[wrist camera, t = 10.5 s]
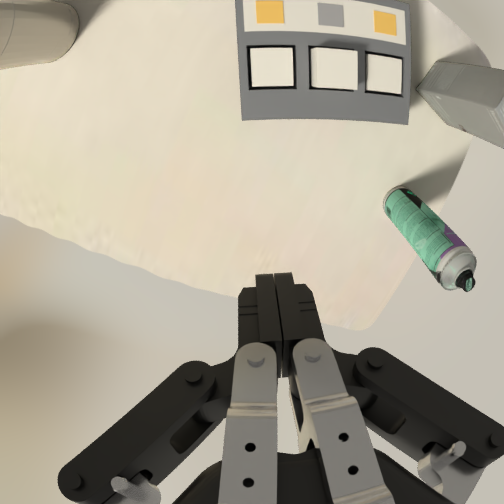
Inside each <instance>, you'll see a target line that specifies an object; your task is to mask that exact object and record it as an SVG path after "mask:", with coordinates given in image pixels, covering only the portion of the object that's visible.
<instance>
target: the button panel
mask: <svg viewBox="0 0 504 504" xmlns="http://www.w3.org/2000/svg"><path fill="white" fill-rule="evenodd" d="M235 8H236V26H237V44H238V61H239V79H240V96H241V113H242V121H244V120H266V119H334V120H356V121H371V122H383V123H394V124H403V125H408V119H409V106H410V86H411V26H410V8H409V4H407V3H403V2H400V1H396V0H235ZM316 47H317V48H331V49H342V50H352V51H357V55H358V83H357V90H352V89H338V88H318V87H313V86H311V64H310V49H313V48H316ZM250 48H292V52H293V85H294V86H257V87H252V86H251V68H250ZM365 54H371V55H378V56H384V57H390V58H396V59H401V60H402V81H401V94H396V93H389V92H381V91H373V90H366V89H365Z"/></svg>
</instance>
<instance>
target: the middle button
mask: <svg viewBox="0 0 504 504" xmlns="http://www.w3.org/2000/svg"><path fill="white" fill-rule="evenodd" d="M310 64H311V86H313V87H318V88H338V89H352V90H357V83H358V55H357V51H352V50H342V49H331V48H317V47H316V48H313V49H310Z"/></svg>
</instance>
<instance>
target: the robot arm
mask: <svg viewBox="0 0 504 504" xmlns="http://www.w3.org/2000/svg"><path fill="white" fill-rule="evenodd" d="M78 28H79V19H78V15H77V12H76V10H75V9H74V8H73V7H72V6H70V5H68V4H65V3H60V2H56V1H52V0H0V70H1V69H7V68H13V67H19V66H26V65H35V64H43V63H50V62H53V61H56V60H57V59H59V58H61V57H62V56H63V55H64V54H65V53H66V52H67V51H68V50H69V49H70V47H71V46H72V44H73V42H74V41H75V38H76V36H77V33H78ZM255 277H256V287H248V288H243V289H242V291H241V293H240V294H239V296H238V349H237V351H236V353H235V355H234V356H233V357H232V358H230V359H229V360H228V361H226V362H223V363H220V364H217V365H214V366H210V365H208V364H207V363H205V362H202V361H190V362H187V363H184V364H183V365H181V366H180V367H179V368H177V369H176V370H175V371H174V372H173V373H172V374H171V375H170V376H169V377H168V378H167V379H165V380H164V381H163V382H162V383H161V384H160V385H159V386H158V387H156V388H155V389H154V390H153V391H152V392H151V393H150V394H148V395H147V396H146V397H145V398H144V399H143V400H142V401H140V402H139V403H138V404H137V405H136V406H135V407H134V408H132V409H131V410H130V411H129V412H128V413H127V414H126V415H124V416H123V417H122V418H121V419H120V420H119V421H118V422H116V423H115V424H114V425H113V426H112V427H110V428H109V429H108V430H107V431H106V432H105V433H103V434H102V435H101V436H100V437H99V438H98V439H96V440H95V441H94V442H93V443H92V444H90V445H89V446H88V447H87V448H86V449H84V450H83V451H82V452H81V453H80V454H78V455H77V456H76V457H75V458H74V459H72V460H71V461H70V462H69V463H67V464H66V465H65V466H64V467H63V468H62V469H61V470H60V472H59V475H58V486H59V489H60V491H61V493H62V494H63V495H64V496H65V497H66V498H68V499H69V500H71V501H74V502H76V503H79V504H160V501H161V494H160V491H159V489H158V488H157V485H158V484H159V483H161V481H163V480H164V479H165V478H166V477H167V476H168V475H169V474H170V473H171V472H172V471H173V470H174V469H175V468H176V467H177V466H178V465H179V464H180V463H182V462H183V461H184V459H186V458H187V457H188V456H189V455H190V454H191V453H192V452H193V451H194V450H195V449H196V447H198V446H199V445H200V444H201V443H202V442H203V441H204V439H205V438H206V437H207V436H208V435H209V434H210V433H211V432H212V431H213V430H214V429H215V428H216V426H218V425H219V424H220V423H221V421H222V420H223V419H224V418H226V428H225V437H224V447H223V457H222V461H219V462H217V463H215V464H213V465H212V466H210V467H208V468H207V469H206V470H204V471H203V472H202V473H201V474H200V475H199V476H198V477H197V478H196V479H195V480H194V481H193V482H192V483H191V485H190V486H189V487H188V488H187V489H186V490H185V491H184V492H183V493H182V494H181V495H180V496H179V497H178V498H177V499H176V500H175V501H174V502H173V503H172V504H465V503H466V501H467V500H468V498H469V496H470V495H471V493H472V491H473V489H474V488H475V486H476V484H477V482H478V480H479V479H480V477H481V475H482V473H483V471H484V469H485V468H486V466H488V465H489V464H491V463H492V462H494V461H495V460H497V459H498V458H500V457H501V456H502V455H504V427H503V426H502V425H501V424H499V423H497V422H496V421H494V420H493V419H491V418H490V417H488V416H486V415H485V414H483V413H481V412H480V411H479V410H477V409H475V408H474V407H472V406H471V405H469V404H467V403H466V402H464V401H463V400H461V399H460V398H458V397H456V396H455V395H453V394H452V393H450V392H449V391H447V390H445V389H444V388H442V387H440V386H439V385H437V384H436V383H434V382H433V381H431V380H430V379H428V378H427V377H425V376H423V375H422V374H420V373H419V372H417V371H416V370H414V369H413V368H411V367H410V366H408V365H406V364H405V363H403V362H402V361H400V360H399V359H397V358H396V357H394V356H393V355H391V354H389V353H388V352H386V351H385V350H383V349H380V348H375V347H370V348H366V349H364V350H362V351H361V352H360V353H359V354H358V355H353V354H346V353H341V352H338V351H336V350H334V349H333V348H331V347H330V346H329V345H328V344H327V342H326V341H325V338H324V335H323V331H322V327H321V323H320V319H319V315H318V312H317V308H316V304H315V300H314V297H313V293H312V291H311V290H310V289H309V288H308V287H307V286H306V284H294V280H293V276H292V273H291V272H290V273H274V278H273V274H259V275H255ZM281 371H282V377H288V378H289V385H290V388H289V397H290V401H291V406H292V410H293V415H294V420H295V424H296V429H297V434H298V446H299V454H286V453H279V452H277V386H278V378H280V377H281ZM366 426H367V427H368V428H370V429H371V430H372V431H374V432H375V433H377V434H378V435H379V436H381V437H382V438H384V439H385V440H386V441H388V442H389V443H391V444H392V445H394V446H395V447H396V448H398V449H399V450H401V451H402V452H404V453H405V454H407V455H408V456H410V457H411V458H413V459H414V460H416V461H417V462H418V474H419V477H420V478H421V479H422V480H423V481H425V482H426V483H424V482H423V481H421V480H420V479H419V478H417V477H416V476H414V475H413V474H412V473H410V472H409V471H408V470H406V469H405V468H404V467H402V466H401V465H399V464H398V463H397V462H395V461H394V460H393V459H392V458H390V457H389V456H387V455H386V454H385V453H383V452H381V451H379V450H377V449H375V448H373V446H372V443H371V440H370V437H369V434H368V431H367V428H366Z"/></svg>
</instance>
